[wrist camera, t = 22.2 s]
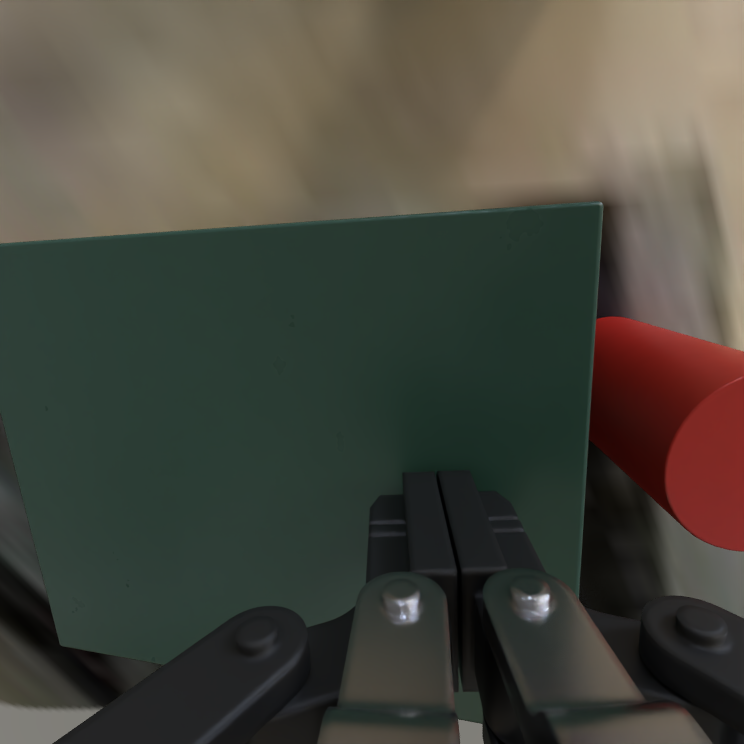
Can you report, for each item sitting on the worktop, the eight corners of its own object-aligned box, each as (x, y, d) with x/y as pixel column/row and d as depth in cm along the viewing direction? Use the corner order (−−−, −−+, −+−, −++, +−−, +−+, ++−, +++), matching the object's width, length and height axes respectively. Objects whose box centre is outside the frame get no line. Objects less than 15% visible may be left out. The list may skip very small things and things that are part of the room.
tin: (549, 319, 20) (674, 373, 12) (670, 313, 20) (891, 363, 11) (545, 430, 21) (655, 555, 13) (659, 426, 21) (850, 549, 13)
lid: (596, 203, 9) (605, 200, 9) (566, 712, 13) (570, 741, 12) (-14, 246, 13) (-45, 246, 13) (79, 628, 16) (59, 647, 16)
